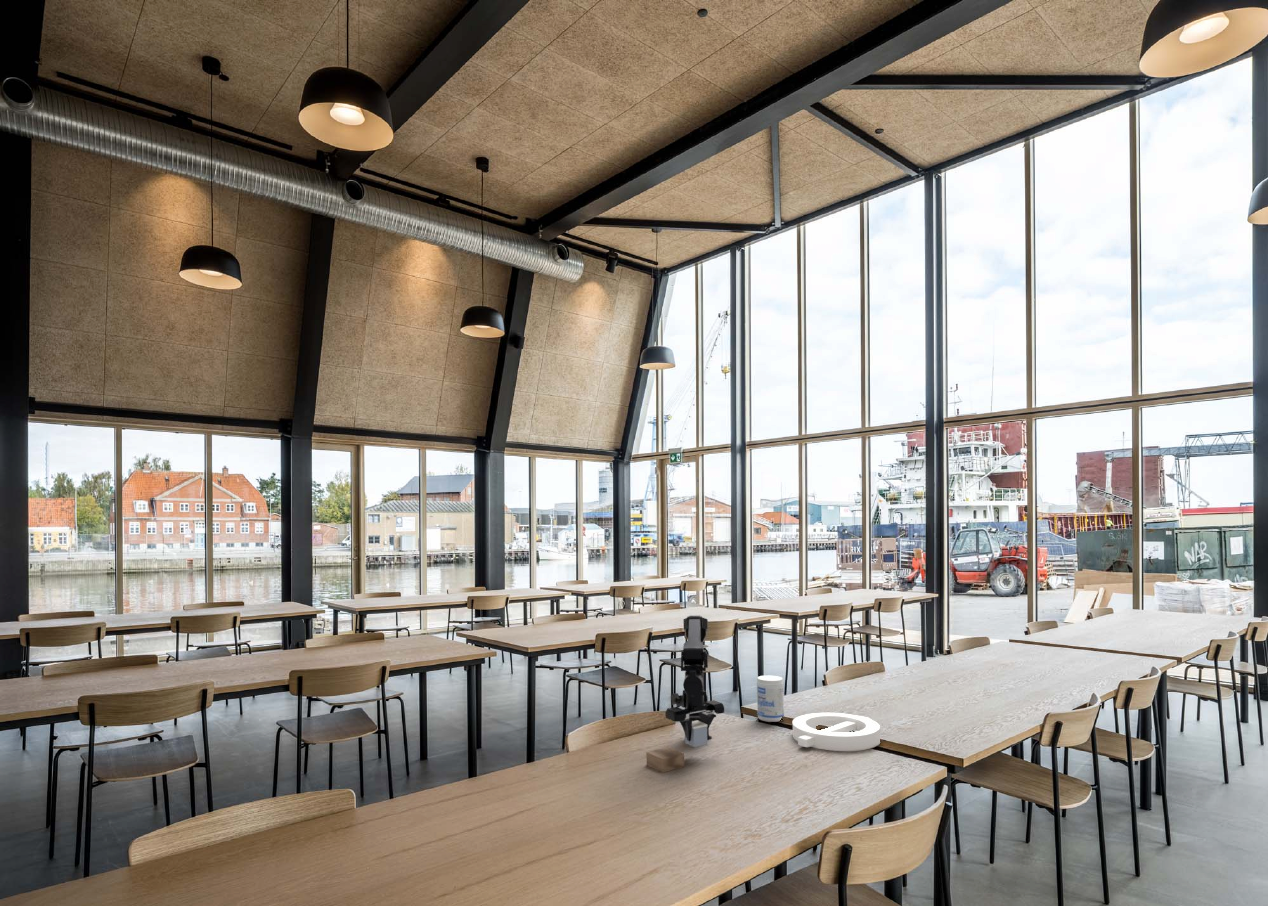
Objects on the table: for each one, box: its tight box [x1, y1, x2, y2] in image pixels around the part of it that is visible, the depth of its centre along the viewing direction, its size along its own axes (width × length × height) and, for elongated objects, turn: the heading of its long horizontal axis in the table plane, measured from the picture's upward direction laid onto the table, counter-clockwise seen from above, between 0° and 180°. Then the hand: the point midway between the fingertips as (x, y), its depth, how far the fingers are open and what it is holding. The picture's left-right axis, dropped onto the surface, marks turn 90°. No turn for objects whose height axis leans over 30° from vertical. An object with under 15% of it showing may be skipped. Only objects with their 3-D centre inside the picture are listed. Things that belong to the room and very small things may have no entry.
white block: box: [684, 720, 708, 748], centre depth 218 cm, size 5×5×6 cm
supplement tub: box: [756, 674, 785, 723], centre depth 259 cm, size 10×10×15 cm
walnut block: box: [645, 746, 685, 773], centre depth 211 cm, size 8×8×4 cm
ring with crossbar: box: [792, 712, 881, 752], centre depth 235 cm, size 28×28×5 cm
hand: (696, 739), depth 218 cm, fingers closed on white block, 5 cm apart
